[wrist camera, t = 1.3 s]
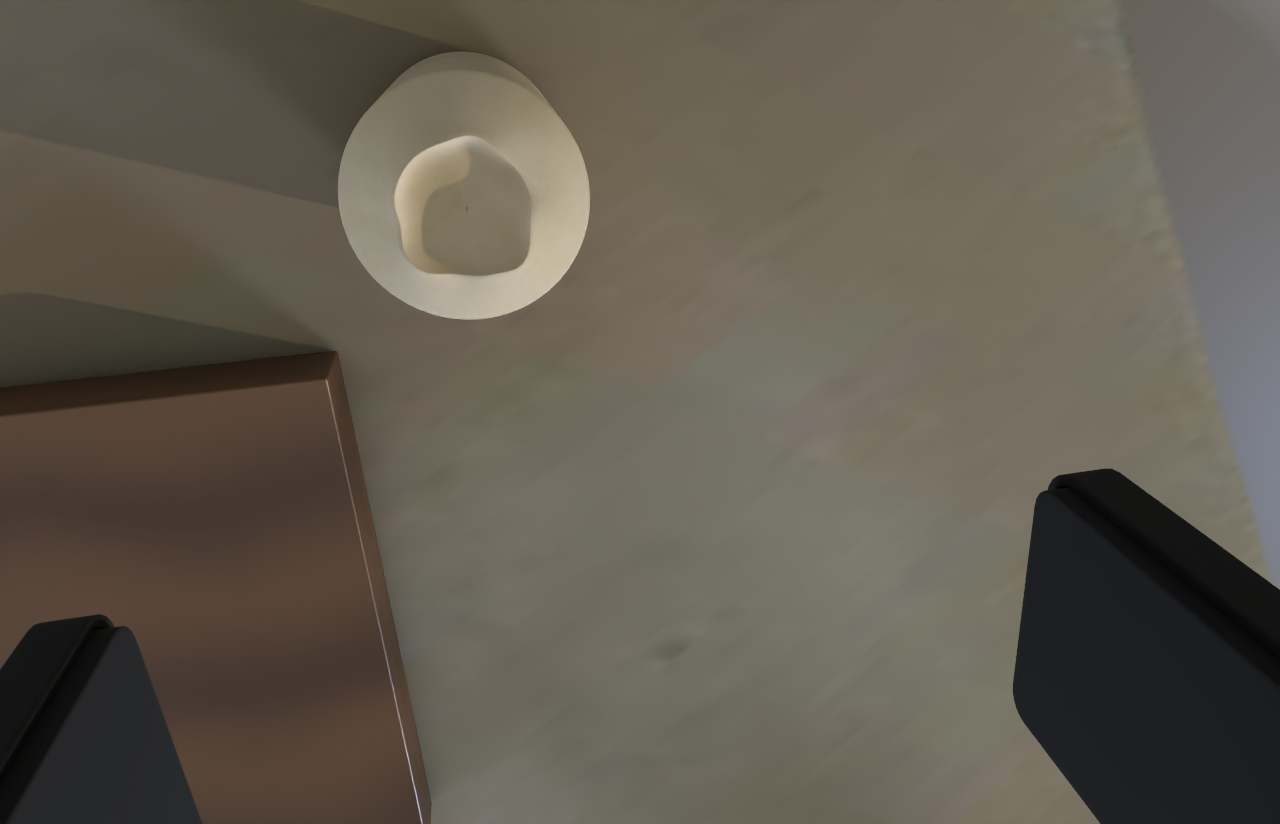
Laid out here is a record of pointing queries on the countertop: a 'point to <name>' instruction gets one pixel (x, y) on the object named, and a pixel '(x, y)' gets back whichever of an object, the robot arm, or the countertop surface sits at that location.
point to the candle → (464, 189)
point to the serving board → (222, 576)
